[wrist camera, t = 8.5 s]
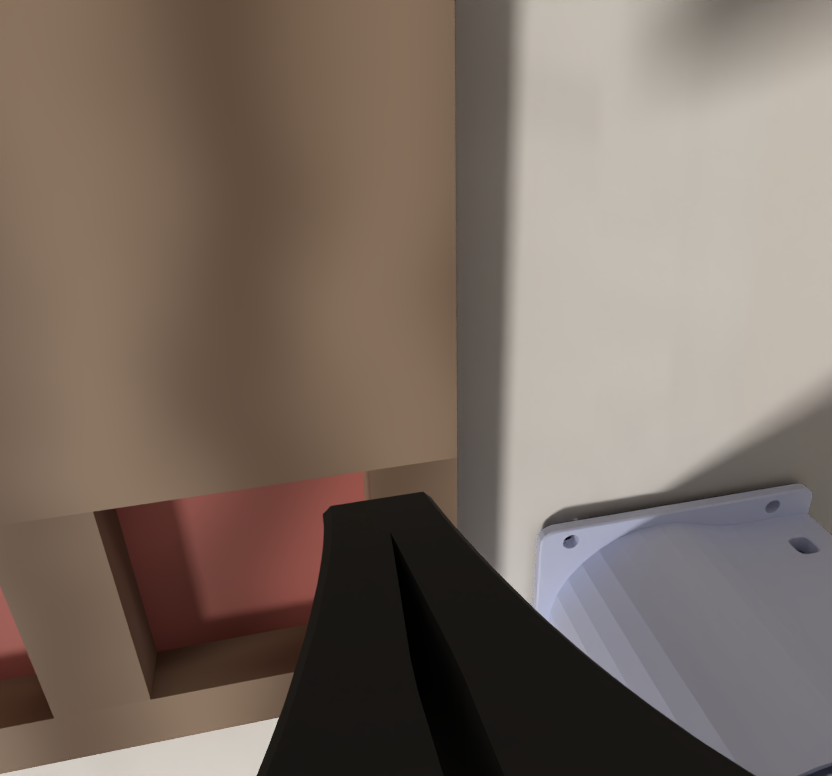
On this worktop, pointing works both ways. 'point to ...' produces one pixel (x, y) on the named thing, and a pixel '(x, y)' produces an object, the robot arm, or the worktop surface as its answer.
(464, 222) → the worktop surface
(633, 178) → the worktop surface
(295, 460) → the trap deck
